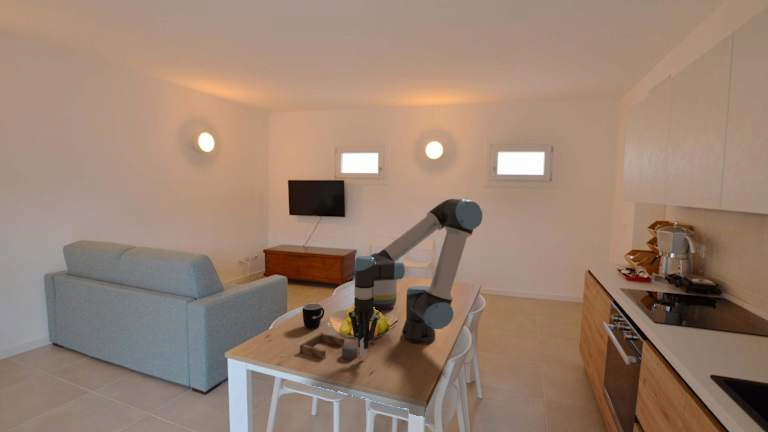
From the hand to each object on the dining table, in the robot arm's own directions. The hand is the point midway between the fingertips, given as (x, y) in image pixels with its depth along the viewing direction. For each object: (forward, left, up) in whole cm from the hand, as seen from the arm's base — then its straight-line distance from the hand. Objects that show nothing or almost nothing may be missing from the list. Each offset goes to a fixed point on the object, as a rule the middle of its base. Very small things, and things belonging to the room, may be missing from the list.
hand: (363, 355), depth 140 cm
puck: (+6, 0, -2) cm, 7 cm away
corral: (+19, 0, -2) cm, 19 cm away
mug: (+38, -18, -2) cm, 42 cm away
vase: (+23, -59, -2) cm, 63 cm away
